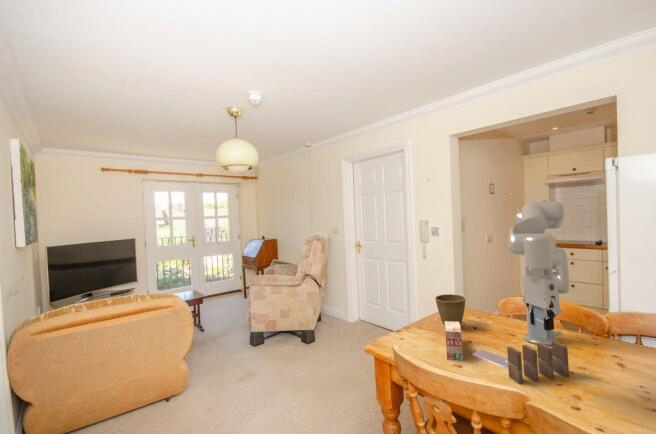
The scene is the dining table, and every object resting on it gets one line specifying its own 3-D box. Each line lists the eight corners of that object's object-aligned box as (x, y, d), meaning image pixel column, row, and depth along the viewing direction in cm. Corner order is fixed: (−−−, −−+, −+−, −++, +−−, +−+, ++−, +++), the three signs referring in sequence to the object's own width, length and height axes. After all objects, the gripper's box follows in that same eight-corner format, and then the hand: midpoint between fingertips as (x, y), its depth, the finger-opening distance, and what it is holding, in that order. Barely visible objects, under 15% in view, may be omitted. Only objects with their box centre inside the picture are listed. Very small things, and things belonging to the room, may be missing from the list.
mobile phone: (482, 348, 139) (516, 361, 126) (482, 350, 139) (516, 363, 126) (470, 353, 136) (505, 366, 122) (471, 355, 135) (505, 368, 122)
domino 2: (528, 374, 117) (526, 344, 117) (538, 381, 112) (536, 350, 112) (524, 375, 117) (522, 345, 117) (534, 382, 112) (532, 350, 112)
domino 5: (557, 370, 118) (555, 341, 118) (569, 377, 113) (567, 346, 113) (553, 371, 118) (551, 341, 118) (565, 377, 113) (563, 346, 113)
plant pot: (445, 321, 178) (443, 292, 178) (472, 327, 167) (470, 296, 167) (431, 328, 168) (429, 298, 168) (459, 335, 157) (457, 303, 157)
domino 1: (513, 376, 116) (511, 346, 116) (523, 383, 111) (521, 352, 111) (508, 377, 116) (507, 347, 116) (518, 384, 111) (516, 352, 111)
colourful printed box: (445, 340, 152) (444, 314, 152) (459, 341, 150) (458, 315, 150) (447, 360, 132) (445, 330, 132) (463, 361, 130) (461, 331, 130)
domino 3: (538, 333, 109) (536, 301, 109) (551, 339, 104) (549, 305, 104) (534, 334, 109) (532, 302, 109) (546, 339, 104) (544, 306, 104)
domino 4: (542, 372, 117) (541, 342, 118) (554, 379, 112) (552, 348, 113) (538, 373, 117) (537, 343, 117) (549, 379, 112) (547, 348, 112)
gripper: (571, 276, 98) (575, 334, 98) (529, 267, 115) (532, 318, 115) (550, 278, 97) (553, 337, 97) (510, 269, 114) (513, 320, 114)
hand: (542, 326), depth 106 cm, fingers closed on domino 3, 4 cm apart
